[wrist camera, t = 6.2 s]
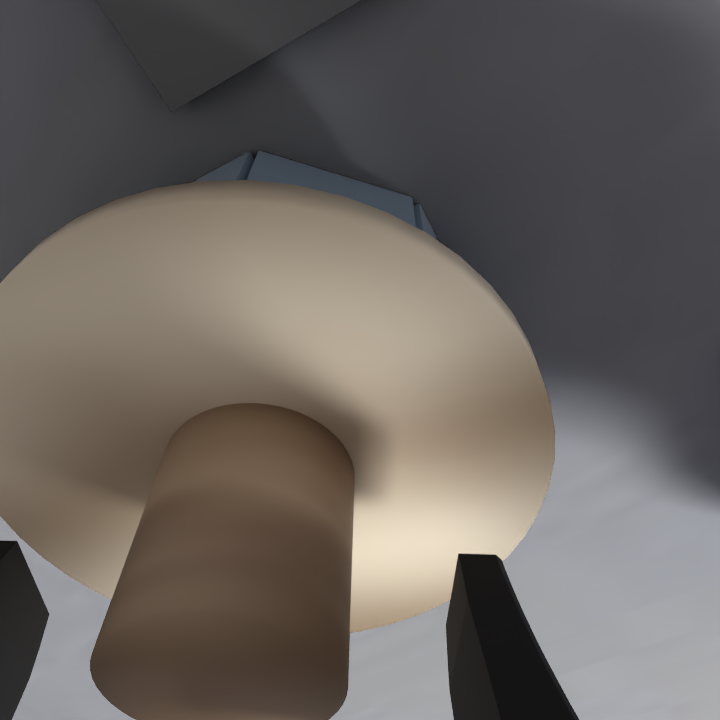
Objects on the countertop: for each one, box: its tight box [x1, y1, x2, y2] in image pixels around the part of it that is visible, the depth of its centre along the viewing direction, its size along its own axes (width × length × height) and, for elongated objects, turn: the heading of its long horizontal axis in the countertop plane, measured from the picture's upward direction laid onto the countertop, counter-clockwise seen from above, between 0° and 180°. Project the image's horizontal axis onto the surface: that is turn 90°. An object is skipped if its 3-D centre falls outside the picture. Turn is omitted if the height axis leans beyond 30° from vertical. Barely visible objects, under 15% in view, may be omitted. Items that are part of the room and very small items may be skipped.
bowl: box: [193, 150, 438, 241], centre depth 15 cm, size 9×9×4 cm
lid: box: [0, 180, 555, 720], centre depth 11 cm, size 11×11×5 cm
